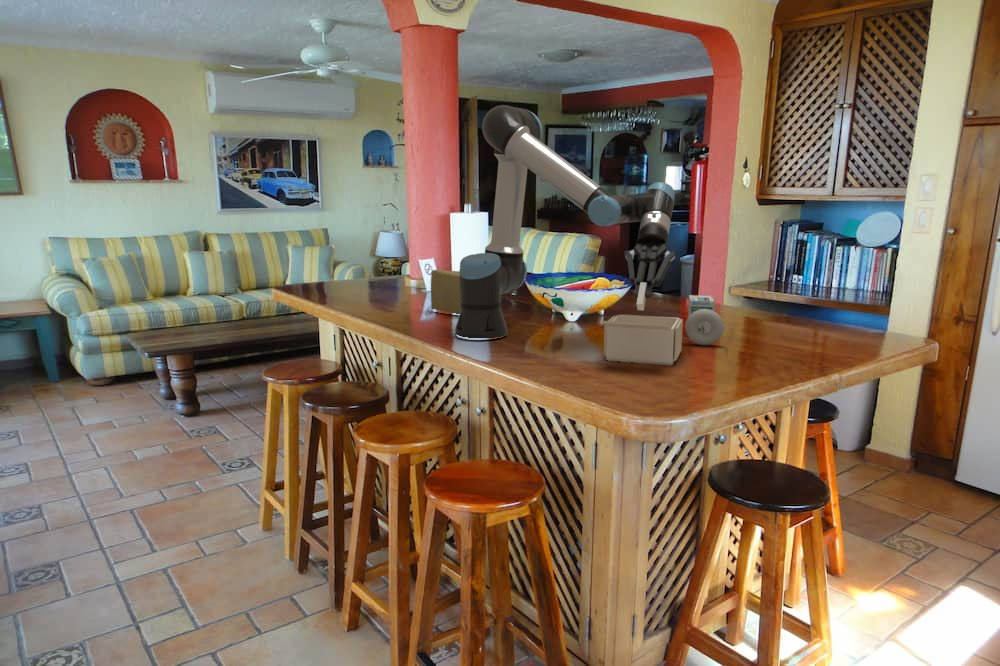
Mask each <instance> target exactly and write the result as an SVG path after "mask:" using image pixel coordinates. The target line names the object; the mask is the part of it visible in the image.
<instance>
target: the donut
mask: <svg viewBox="0 0 1000 666" xmlns="http://www.w3.org/2000/svg"><path fill="white" fill-rule="evenodd" d="M688 316H689V315H688ZM703 321H706V322H708V323H710V325H711V330H710V331H709V332H708V333H702V332H700V331H699V329H698V325H699V323H701V322H703ZM724 323H725V322H724V320H723V319H722V317H721V316H720V314H718V312H716V311H715V312H714V311H712V310H709V309H700V310H697V311H695V312H693V313H692V314H691V315H690V316H689V317H687V319H686V321H685V333H686V335H687V337H688V338H689V339H690V340H691V341H692V343H695V344H696V345H699V346H703V347H704V346H711V345H713V344H715V343H717V342H718V341H719V340H720V339H721V337H722V336H723V335H724V330H725V325H724Z"/></svg>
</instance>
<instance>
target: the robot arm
mask: <svg viewBox="0 0 1000 666" xmlns="http://www.w3.org/2000/svg"><path fill="white" fill-rule="evenodd" d="M481 127H482V128H481V130H482V134H483V137H484V139H485V141H486V142H487V143H488V144H489V145H490V146H491V147H492V148H493V149H494V151H493V152H494V153H493V155H494V156H495V157H496V159H497V161H498V165H497V177H496V186H495V198H494V208H493V219H492V228H491V238H490V239H491V240H490V243H489V244H488V245H486V246H485V248H484V249H485V251H484V252H483V253H482V252H481V253H475V254H469V255H466V256H464V257H463V258H462V259H461V260H460V262H459V274H460V295H461V312H460V315H459V317H458V318H457V322H456V325H455V329H454V330H455V335H456V334H457V335H459V336H462V337H468V338H495V337H501V336H504V335H506V334H507V335H508V326H507V323H506V320H505V316H504V314H503V312H502V311H503V310H502V295H503V294H504V295H505V294H510V293H512V292H514V291H516V290H517V289H519V288H520V287H521V286H523V284H524V283H525V281H526V279H527V276H528V275H527V274H528V268H527V264H526V262H525V260H524V250H523V248H522V247H521V246H520V241H521V231H522V222H523V214H524V205H525V204H524V203H525V196H526V186H527V177H528V170H530V172H532V173H534V174H535V175H536V176H538V178H540V179H541V180H543V181H544V182H545V183H546V184H548V185H549V186H550V187H552V188H553V189H554V190H556V191H557V192H558V193H560V194H561V195H562V196H564V197H565V198H566V199H568V200H569V201H570V202H572V203H573V204H574V205H576V206H577V207H578V208H580V209H581V210H582V211H584V212H585V213H586V214H587V215H588V218H589V219H590V221H591V222H592V223H594V225H596V226H600V227H610V226H613V225H620V224H625V223H634V222H635V223H636V222H637V223H638V222H640V226H639V231H638V234H637V235H638V236H637V241H636V244H635V246H634V247H633V249H631V250H625V251H624V252H623V253H624V258H625V260H626V262H627V268H628V277H629V278H628V279H629V285H630V286H632V287H633V286H635V288H634V297H635V298H637V300H636V303H635V305H636V308H637V311H644V310H645V304H646V300H647V299H650V298H651V296H652V295H651V294H652V291H653V288H654V287H657V288H658V287H661V285H662V282H663V280H664V279H665V276H666V274H667V272H668V271H669V268H670V267H671V264H673V263H674V261H676V254H675V251H669V250H668V247H667V245H668V241H669V240H668V239H669V233H670V228H671V221H672V216H673V209H674V206H675V197H676V196H675V194H676V193H675V190H674V188H673V186H671V185H670V184H669V183H667V182H661V181H659V182H658V181H657V182H654V183H653V184H650V185H649V187H648V188H647V190H646V192H639V193H631V194H619V195H612V194H611V193H610V192H608V191H607V190H606V189H605V188H604V187H602V186H601V185H599V184H598V183H597V182H595V181H594V180H593V179H591V178H590V177H589V176H587V175H586V174H585V173H583V172H582V171H581V170H579V169H578V168H576V166H574V165H573V164H571V163H570V162H568V161H567V160H566V159H564V158H563V157H562V156H560V155H559V154H558V153H557V152H555V151H554V150H553V149H552V148H550V147H549V146H547V145H546V144H545V143H543V142H542V138H543V125H542V122H541V121H540V119H539V117H538V116H537V115H536V114H535V113H534V112H532V111H530V110H528V109H527V108H522V107H520V108H519V107H517V106H510V105H506V104H500V105H496V106H495V107H492V108H491V109H490V110H489V111H488V112H487V113H486V114H485V115H484V117H483V120H482V124H481ZM635 256H636V257H637V259H638V260H639V265H638V270H637V274H636V277H635V267H634V262H633V261H634V259H635ZM663 258H664V259H663ZM662 259H663V261H662V263H661V264H660V267H659V269H658V270H657V267H658V266H657V265H658V263H659V262H660V261H661V260H662ZM648 264H649V267H648V270H647V271H648V273H647V278H646V282H644V279H645V274H646V268H647V265H648ZM656 270H657V272H656ZM656 273H657V274H656ZM655 274H656V275H655Z"/></svg>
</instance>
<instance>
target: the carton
mask: <svg viewBox="0 0 1000 666" xmlns="http://www.w3.org/2000/svg"><path fill="white" fill-rule="evenodd" d="M607 321H618V322H636V323H654V324H668V325H669V326H670V327H671V330H658V329H641V328H623V327H608V326H606V325H605V324H603V325H604V329H603V330H604V331H603V333H604V334H603V341H604V342H603V357H604V356H605V360H608V361H607V362H617V361H620V362H621V363H631V362H633V364H646V365H648V364H649V365H659V366H673V364H674V363H675V362H677V360H678V358H679V356H680V353H681V352H682V349H683V348H682V345H683V326H684V325H683V324H684V323H683V321H684V319H683V318H680V317H675V316H673V317H672V316H655V315H653V316H652V315H637V314H617V315H613V316H612V317H611V318H609V319H608V320H607Z"/></svg>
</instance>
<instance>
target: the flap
mask: <svg viewBox="0 0 1000 666" xmlns="http://www.w3.org/2000/svg"><path fill="white" fill-rule="evenodd" d="M601 324H603V325H604V324H605V325H606V326H608V327H623V328H641V329H658V330H671V327H670V326H669V325H668V324H654V323H636V322H618V321H608V320H601Z"/></svg>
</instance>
